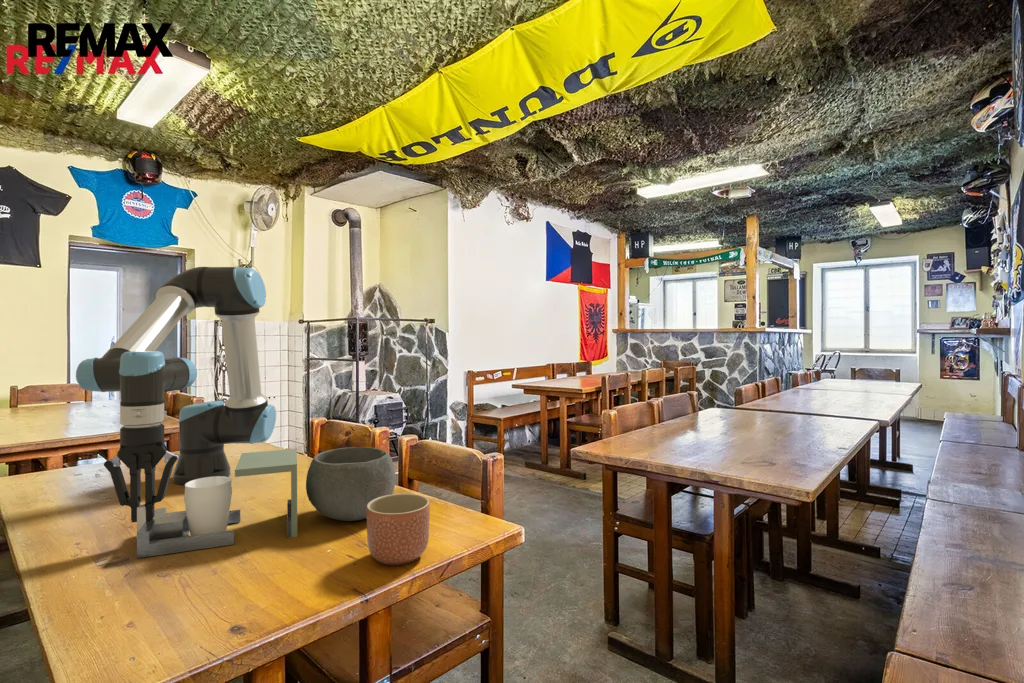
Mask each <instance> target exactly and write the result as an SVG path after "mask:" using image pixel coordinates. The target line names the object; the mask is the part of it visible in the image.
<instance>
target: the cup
mask: <svg viewBox="0 0 1024 683" xmlns="http://www.w3.org/2000/svg"><path fill="white" fill-rule="evenodd" d="M232 488H233V487H232V478H231V477H229V476H228V477H226V476H213V477H205V478H199V479H195V480H192V481H189V482H187V483H186V484H185V485H184V495H183V496H184V497H183V498H184V500H183V501H184V506H185V511H186V513H187V518H188V524H189V536H193V535H201V534H208V533H215V532H223V531H228V525H229V524H228V517H229V511H231V509H230V508H231V504H232V503H231V502H232V498H233V497H232V496H233V495H232V494H233V489H232Z"/></svg>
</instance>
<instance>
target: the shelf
mask: <svg viewBox="0 0 1024 683" xmlns="http://www.w3.org/2000/svg"><path fill="white" fill-rule="evenodd" d="M297 452H298V451H297V448H290V449H277V450H266V451H265V450H264V451H254V452H253V451H250V452H242V453H241V454H240V457H239V459H238V462H237V464H236V465H235V468H234V478H238V477H239V478H241V477H249V476H250V477H251V476H259V475H269V474H270V475H271V474H281V473H288V472H289V473H290V484H291V485H290V488H291V489H290V497H291V498H290V499H287V501H286V502H287V505H286V506H287V507H286V508H287V517H286V539H291V538H297V537H298V453H297Z"/></svg>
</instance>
